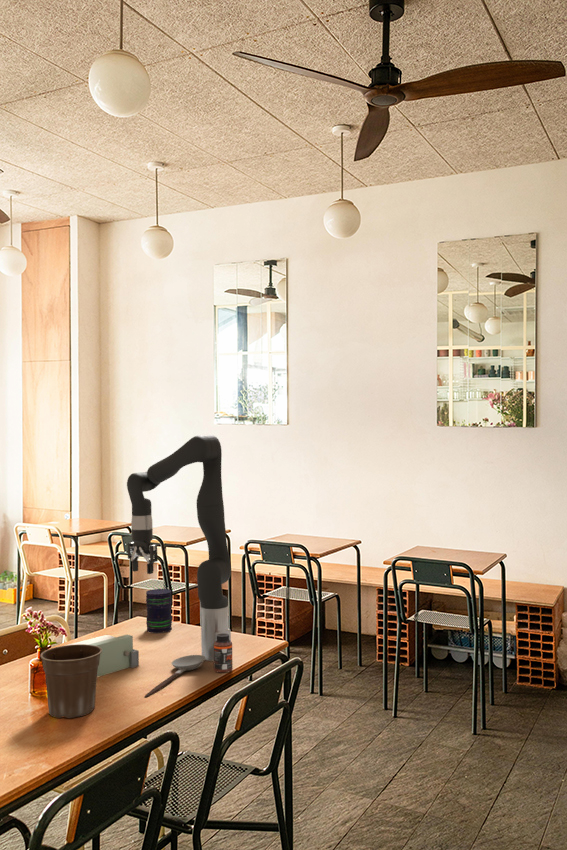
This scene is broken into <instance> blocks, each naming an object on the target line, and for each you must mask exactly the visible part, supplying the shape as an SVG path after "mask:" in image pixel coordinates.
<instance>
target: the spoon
mask: <svg viewBox="0 0 567 850" xmlns="http://www.w3.org/2000/svg"><path fill="white" fill-rule="evenodd" d="M205 661H206V660H205V656H202V654H191V655H185V656H181V657H178V658H176V659H174V660H172V662H171V666H173V667H174V668H175V669H177V670H176V671H175V672H174V673H173V674H172V675H170V676H169V677H168V678H166V679H164V680H163V681H161V682H160V683H158V684H157V685H156V686H154V687H153V688H152V689H151V690H149V692H147V693H146V694H145V696H144V698H148V697H151V696H152V695H154V694H156V693H157V692H159V691H161V690H162V689H163V688H165V687H167V685H169V684H170V683H171V682H172V681H174V679H176V678H177V677H178V676H180V675H181V674H182V673H184V672H189V671H193V670H196V669H198V668H199V667H200V666H202V664H204V662H205ZM160 689H161V690H160Z"/></svg>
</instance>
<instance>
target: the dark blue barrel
mask: <svg viewBox="0 0 567 850" xmlns="http://www.w3.org/2000/svg"><path fill="white" fill-rule="evenodd" d="M145 594H146V595H145V596H146V597H145V602H146V604H145V606H146V613H147V614H146V621H145V622H146V632H147V633H150V634H159V633H160V634H164V633H168V632H171V631H172V625H173V624H172V623H173V619H172V617H173V616H172V590H171V589H169V588H153V589H149V590H147V591H146V593H145Z"/></svg>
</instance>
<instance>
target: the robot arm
mask: <svg viewBox="0 0 567 850" xmlns="http://www.w3.org/2000/svg"><path fill="white" fill-rule="evenodd" d="M222 452H223V451H222V445H221V442H220V440H219V438H217V436H215V435H211V434H205V435H203V434H202V435H195V436H193V437H191V438H190V439H189V440H188V441H186V442H185V443H184V444H183V445H181V446H180V447H179V448H177V450H175V451H174V452H173V453H172V454H170V455H168V456H166V457H164V458H163V459H161V460H159V461H157V462H155V463H154V464H152V465H150V466H149V467H148V469H147V471H145V472H134V473H131V474H130V475H129V476H128V477H127V481H126V488H127V492H128V496H129V500H130V504H131V520H130V521H131V523H130V525H131V526H130V527H131V541H132V542H128V544H127V559H128V560H130V561H131V570H132V572H138V571H139V558H140V557H143V559H145V561H146V573H147V575H152V574H153V573H154V563H156V562H158V560H159V559H158V556H159V555H158V545H157V544H151V543H152V540H154V538H153V537H154V536H153V534H154V533H153V528H154V527H153V517H152V516H153V515H152V501H151V499H149V498H146V497H145V495H144V492H150V491H152V490H154V489H156V488H157V487H158V486H159V485H160V484H161V483H163V482H166V481H167V480H168V479H170V478H172V477H174V476H175V475H176V474H178V472H179V471H180V470H181V469H182V468H184V467H186V466H188V465H191V464H195V463H202V467H203V468H202V471H203V478H202V482H201V486H200V487H199V489H198V493H197V496H196V497H197V498H196V516H197V522H198V525H199V527H200V529H201V530H200V531H202V534H203V535H204V538H205V540H206V543H207V549H208V550H207V551H208V559H207V560H204V561H202V562H201V563H200V564H199V565H198V568H197V572H196V573H197V574H196V582H197V596H198V600H199V602H200V630H201V631H200V637H201V638H200V639H201V642H200V643H201V655H202V656H205V660H204V661H208V662H214V642H215V641H217V634H221V633H226V634H229V640H230V641H231V642H232V637H231V636H232V635H231V634H232V632H231V629H230V628H229V599H228V597H227V596H226V595H224V594H223V588H222V587H223V584H226V583H227V582H228V581H229V580H230V578H231V574H232V565H231V560H230V559H231V558H230V554H229V547H228V544H227V543H228V542H227V532H226V531H227V530H226V523H225V522H226V521H225V506H224V497H223V496H224V495H223V481H222Z"/></svg>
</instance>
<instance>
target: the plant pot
mask: <svg viewBox="0 0 567 850" xmlns="http://www.w3.org/2000/svg"><path fill="white" fill-rule="evenodd" d="M101 653H102V649H101V648H100V647H98V646H94V645H86V644H77V645H69V644H66V646H65V645H60V646H57V647H56V646H54V647H52V648H48V649H47V650H44V651H42V652H41V653H40V659H41V660H42V668H43V669H42V670H43V671H44V676H45V687H46V697H47V707H48V709H47V711H48V715H50V716H51V717H53V718H57V719H62V718H63V717H64V718H66V719H72V718H81V717H83V716H86V715H88V714H91V713H92V712H93V710H94V709H95V707H96V706H95V705H96V704H95V703H96V695H97V694H96V693H97V682H98V681H97V679H98V677H97V671H98V666H99V661H100V654H101Z"/></svg>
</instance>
